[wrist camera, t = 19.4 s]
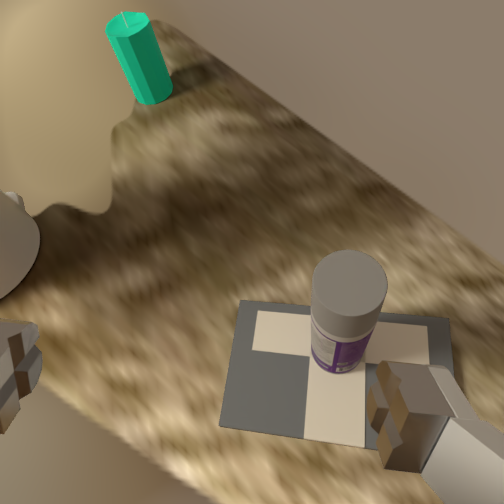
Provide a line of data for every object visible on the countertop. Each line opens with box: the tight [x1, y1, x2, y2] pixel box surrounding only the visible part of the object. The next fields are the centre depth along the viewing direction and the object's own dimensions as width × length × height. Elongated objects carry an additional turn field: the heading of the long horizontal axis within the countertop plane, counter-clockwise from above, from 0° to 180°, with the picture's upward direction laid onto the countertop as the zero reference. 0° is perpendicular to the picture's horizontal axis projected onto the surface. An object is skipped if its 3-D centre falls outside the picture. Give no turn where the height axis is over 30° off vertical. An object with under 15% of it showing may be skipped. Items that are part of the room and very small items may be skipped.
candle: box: [105, 11, 173, 105], centre depth 55 cm, size 6×6×12 cm
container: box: [311, 250, 388, 374], centre depth 30 cm, size 5×5×15 cm
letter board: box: [219, 300, 454, 450], centre depth 36 cm, size 20×12×1 cm, turn 82°
